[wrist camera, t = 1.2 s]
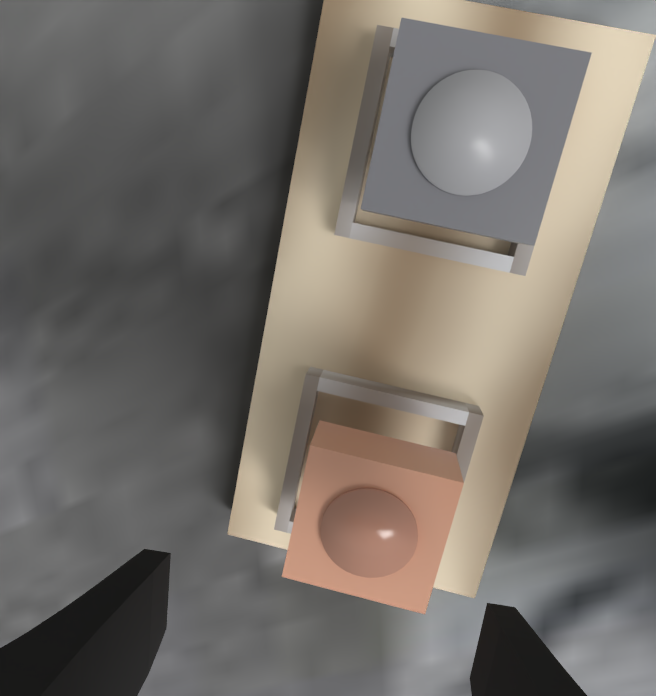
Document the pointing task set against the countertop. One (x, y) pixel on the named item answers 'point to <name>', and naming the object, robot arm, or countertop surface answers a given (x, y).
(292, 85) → the countertop surface
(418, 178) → the button charcoal
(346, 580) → the button terracotta
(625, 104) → the button mount
